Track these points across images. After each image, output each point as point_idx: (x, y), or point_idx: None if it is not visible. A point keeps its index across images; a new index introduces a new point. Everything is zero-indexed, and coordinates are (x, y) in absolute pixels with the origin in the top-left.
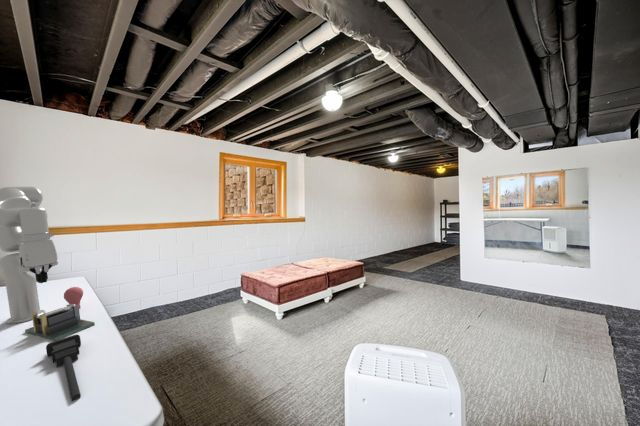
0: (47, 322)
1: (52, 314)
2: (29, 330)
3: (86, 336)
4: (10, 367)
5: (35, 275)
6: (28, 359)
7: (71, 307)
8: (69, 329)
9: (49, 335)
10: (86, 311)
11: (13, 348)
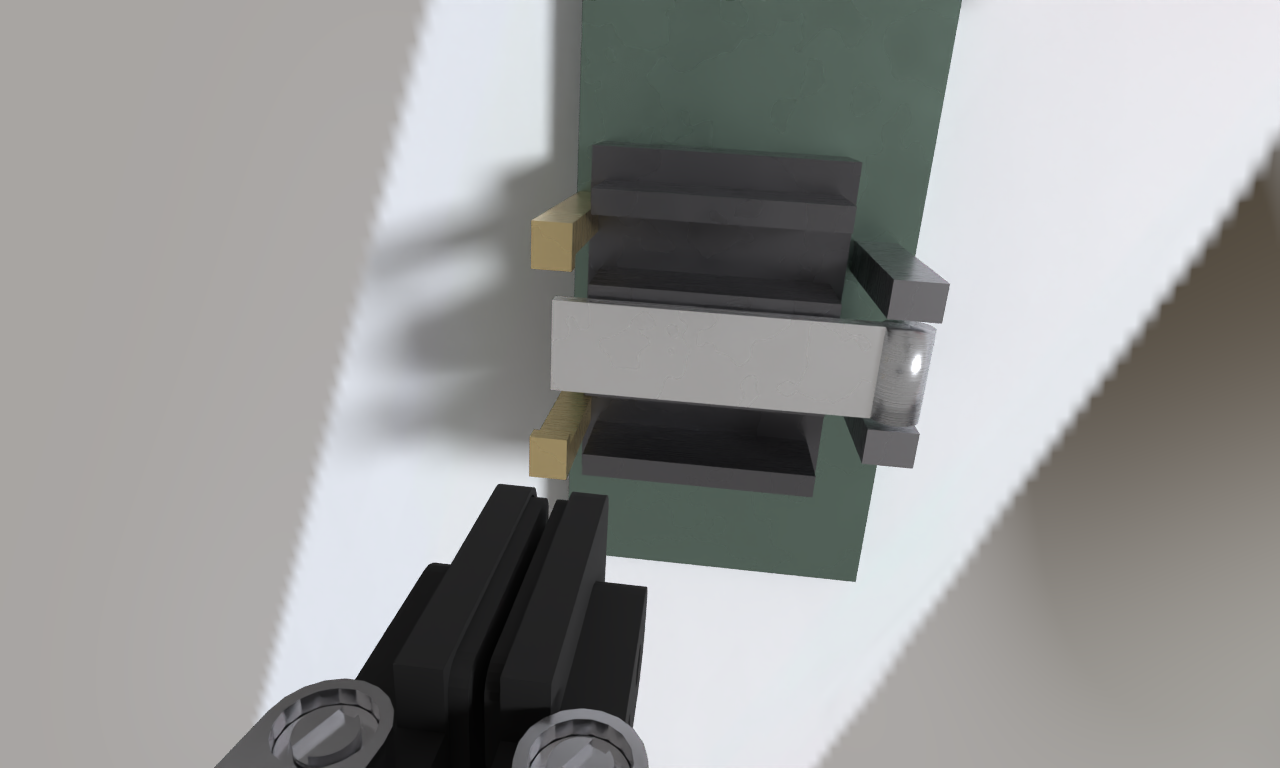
0: None
1: (663, 392)
2: (588, 61)
3: (680, 699)
4: (300, 631)
5: (361, 672)
6: (379, 636)
7: (858, 415)
8: (700, 504)
9: (580, 449)
10: (1185, 27)
11: (398, 322)
